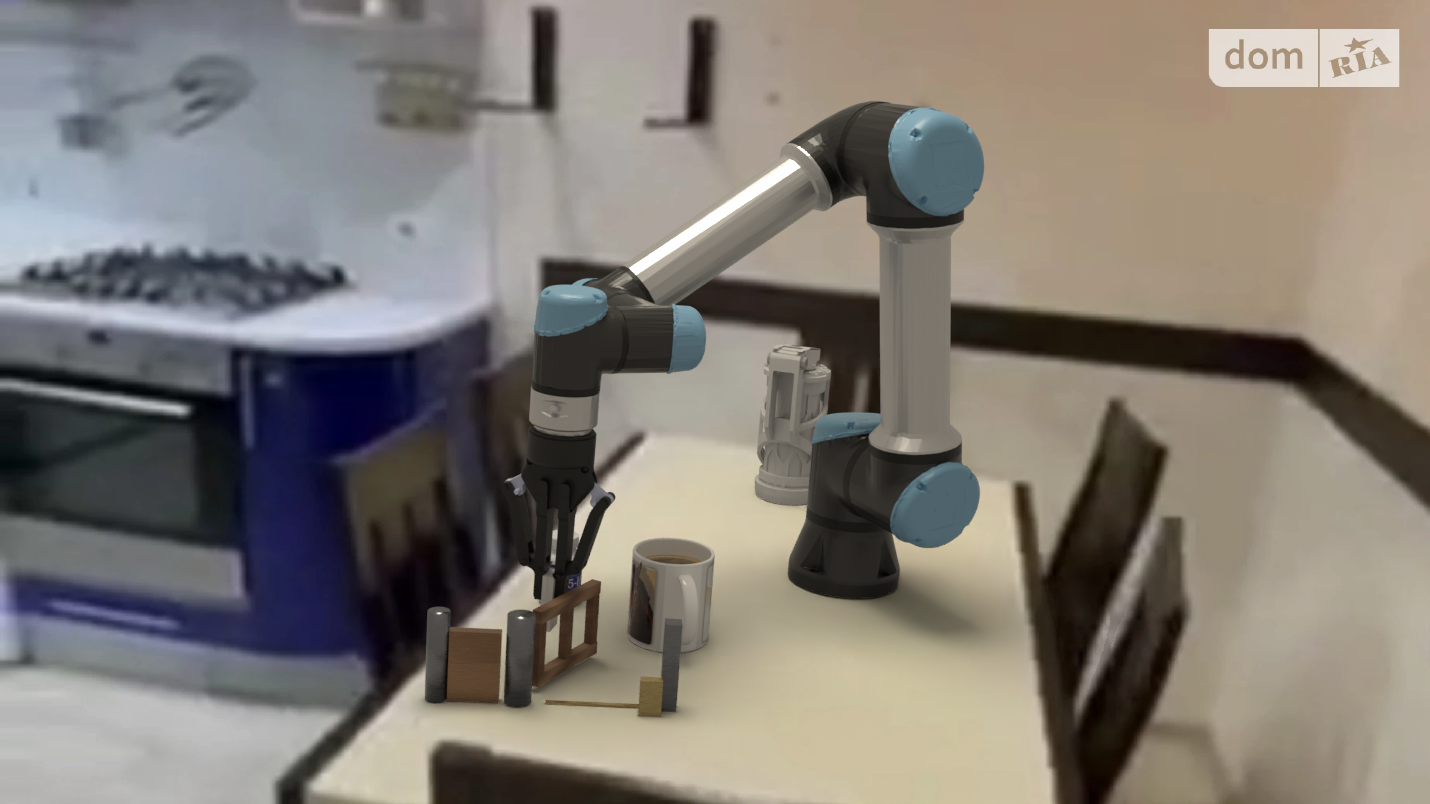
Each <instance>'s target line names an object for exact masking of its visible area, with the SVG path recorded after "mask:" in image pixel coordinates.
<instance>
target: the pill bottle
mask: <svg viewBox="0 0 1430 804" xmlns="http://www.w3.org/2000/svg"><path fill="white" fill-rule="evenodd" d="M557 533H558V529H555V530H553V535H552V550H551V561H553V562H552V564H551V565H550V566H549V569H550V568H551V569H555V558H556V546H557ZM579 541H580V535H579V534H578V533H577V532H576V531H574V538H573V550H572V560H573V559H574V556H575V553H576V550H577V547H578V544H579ZM582 573H583V570H582V571H581V572H580V573H579V574H577V575H574V574H571V575H569V584H568V591H570V590H572V589H574V588H576V587H578V586H580V585H582V578H583V577H582ZM538 601H539V602H540V603H541V600H538Z"/></svg>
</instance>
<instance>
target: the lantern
mask: <svg viewBox="0 0 1430 804" xmlns="http://www.w3.org/2000/svg"><path fill="white" fill-rule="evenodd" d="M771 349H772V350H771V351H769V352H768V353H767V355H766V362H765V363H764V367H763V374H764V375H765V376H767V377H766V390H767V391H766V395H765V396H764V397H763V399H762V401H761V404H760V412H759V424H758V433H757V434H758V436H757V437H758V438H757V445H756V446H757V449H756V455H757V457H758V460H759V461H760V463H761V464H762V465H760V466H759V467H758V474H756V476H755V477H754V490H755V495H756V496H757V497H758V498H759V499H761V500H762V501H764V502H768V503H772V504H775V505H776V504H777V505H783V506H804V505H806V506H807V498H808V487H809V476H810V465H811V454H812V445H811V442H812V439H813V434H814V429H815V424H816V422H817V421H818V420H819V419H820V418H821V417H823V416H825V415H828V409H829V395H830V386H831V385H830V384H831V376H832V370H831V369H830V368H828V367H827V366H826V365H824V364H821V363H820V364H819V361H820V359H821V358H820V357H821V348H817V347H810V346H802V345H795V344H789V343H788V344H787V343H784V344H782V343H780V344H776V345H775V346H772V347H771ZM821 403H822V406H823V408H822V410H821V411H820V409H821ZM763 429H764V430H763ZM763 431H764V432H763Z"/></svg>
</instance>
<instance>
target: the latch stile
mask: <svg viewBox="0 0 1430 804" xmlns="http://www.w3.org/2000/svg"><path fill="white" fill-rule="evenodd" d="M682 626H683V625H682V619H667V618H665V628H664V642H663V652H662V657H661V658H662V659H661V671H660V673H661V674H660V677H659V676H640V680H639V693H638V704H639V706H638V708H637V714H638V717H640V716H641V717H657V718H658V717H659V718H660V717H662V712H668V713H676V712H677V704H678V703H677V702H678V691H679V677H680V666H681V665H680V664H681V663H680V662H681V654H682V652H681V640H682Z"/></svg>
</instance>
